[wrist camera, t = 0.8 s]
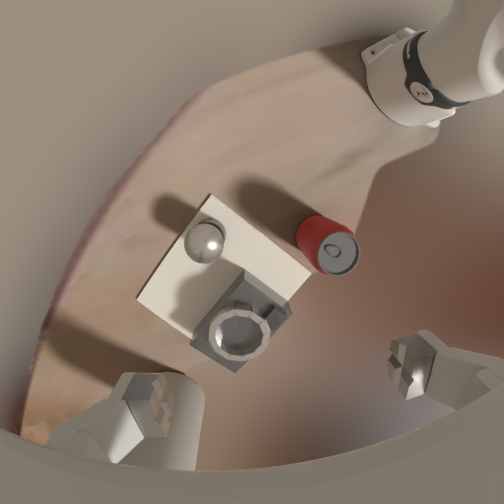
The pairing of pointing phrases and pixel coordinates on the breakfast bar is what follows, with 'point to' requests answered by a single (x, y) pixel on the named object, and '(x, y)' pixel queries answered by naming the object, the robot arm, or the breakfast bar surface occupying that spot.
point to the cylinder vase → (174, 430)
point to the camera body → (241, 322)
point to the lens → (205, 241)
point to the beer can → (328, 245)
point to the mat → (217, 270)
